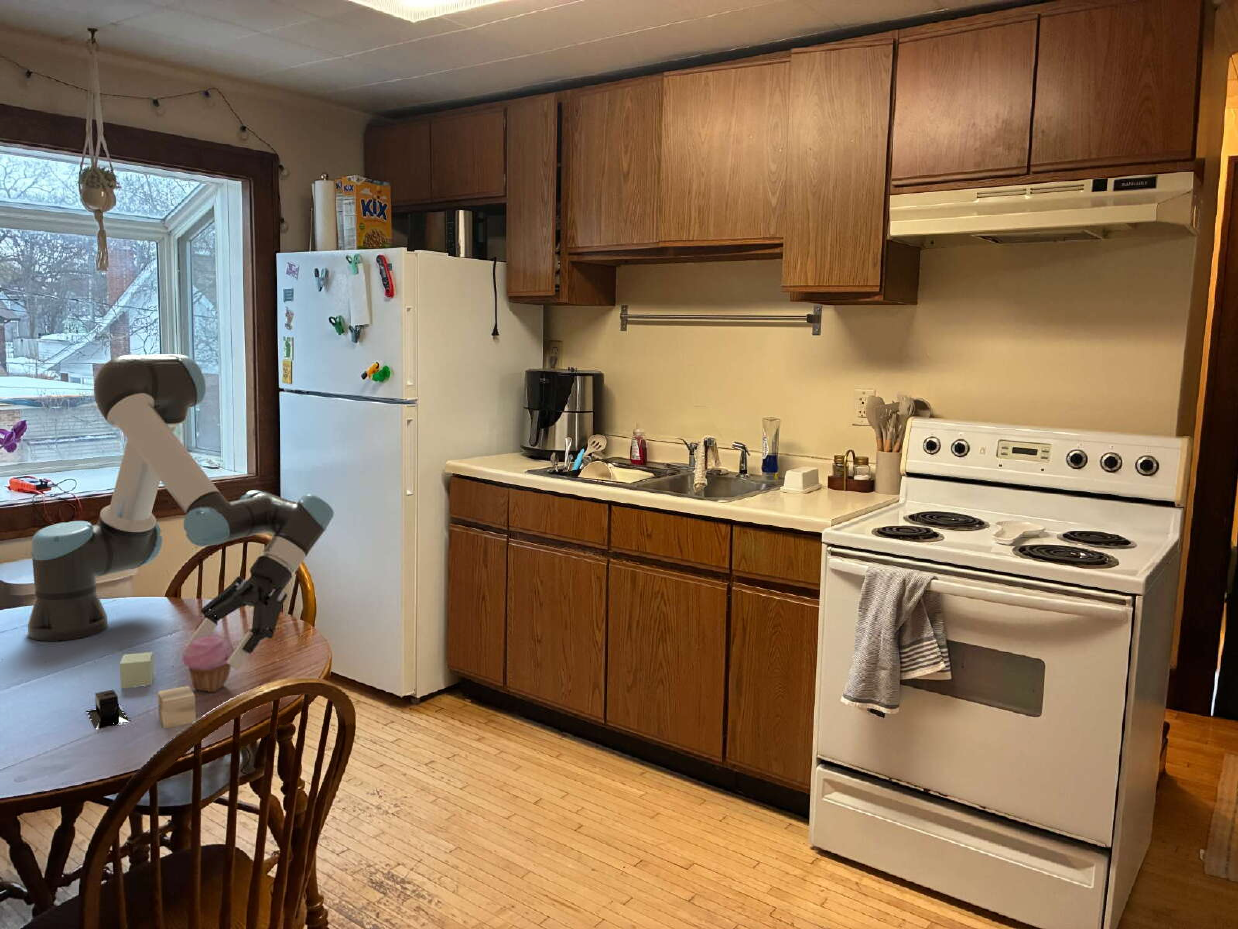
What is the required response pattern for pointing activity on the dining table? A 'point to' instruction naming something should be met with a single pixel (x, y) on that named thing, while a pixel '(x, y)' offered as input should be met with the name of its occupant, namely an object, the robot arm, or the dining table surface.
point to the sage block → (136, 669)
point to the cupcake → (208, 662)
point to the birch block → (176, 706)
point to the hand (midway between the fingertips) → (210, 658)
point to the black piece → (106, 710)
